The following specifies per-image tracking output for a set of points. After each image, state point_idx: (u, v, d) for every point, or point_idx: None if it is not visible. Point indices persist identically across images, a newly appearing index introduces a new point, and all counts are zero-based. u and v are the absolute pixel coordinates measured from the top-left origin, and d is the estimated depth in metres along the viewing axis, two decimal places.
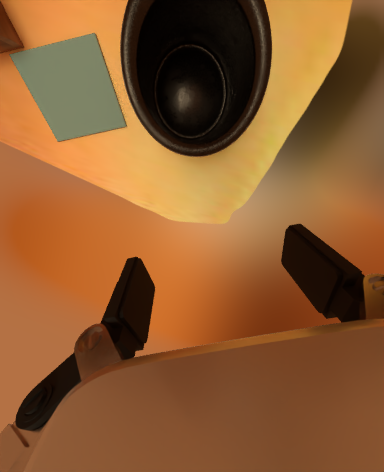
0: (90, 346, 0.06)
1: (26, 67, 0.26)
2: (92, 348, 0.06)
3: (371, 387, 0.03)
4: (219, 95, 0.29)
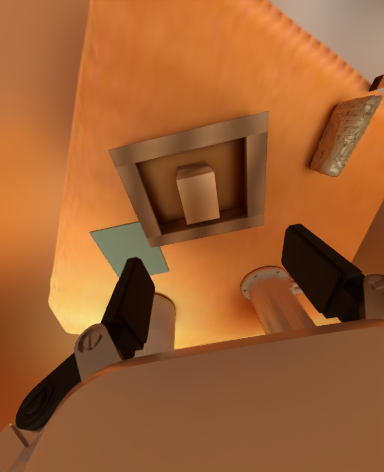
0: (90, 346, 0.06)
1: None
2: (92, 348, 0.06)
3: (371, 387, 0.03)
4: None
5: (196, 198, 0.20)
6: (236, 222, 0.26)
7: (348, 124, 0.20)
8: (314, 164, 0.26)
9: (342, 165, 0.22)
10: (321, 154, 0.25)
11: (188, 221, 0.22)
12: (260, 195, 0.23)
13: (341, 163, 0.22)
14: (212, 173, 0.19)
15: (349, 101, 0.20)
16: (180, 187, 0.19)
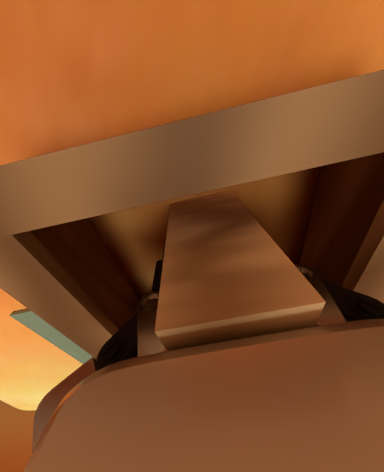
0: (148, 308, 0.07)
1: None
2: (150, 310, 0.07)
3: (371, 387, 0.03)
4: None
5: None
6: None
7: None
8: None
9: None
10: None
11: None
12: (383, 291, 0.09)
13: None
14: (316, 306, 0.04)
15: None
16: (172, 344, 0.05)
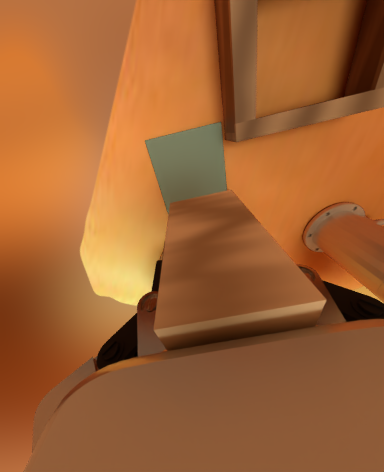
0: (149, 309, 0.07)
1: (211, 136, 0.25)
2: (150, 310, 0.07)
3: (371, 387, 0.03)
4: None
5: None
6: (357, 98, 0.19)
7: None
8: None
9: None
10: None
11: None
12: None
13: None
14: (316, 304, 0.04)
15: None
16: (171, 342, 0.05)
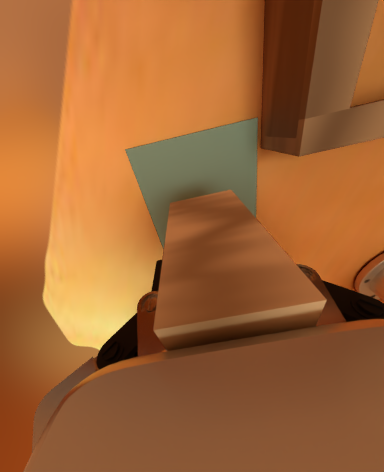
0: (148, 308, 0.07)
1: (238, 142, 0.15)
2: (150, 310, 0.07)
3: (371, 387, 0.03)
4: None
5: None
6: None
7: None
8: None
9: None
10: None
11: None
12: None
13: None
14: (317, 304, 0.04)
15: None
16: (171, 343, 0.05)
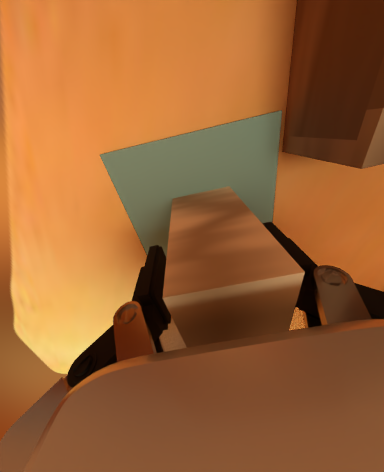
0: (126, 320, 0.07)
1: (254, 144, 0.11)
2: (127, 322, 0.07)
3: (371, 387, 0.03)
4: None
5: (226, 328, 0.07)
6: None
7: None
8: None
9: None
10: None
11: None
12: None
13: None
14: (297, 276, 0.05)
15: None
16: (177, 311, 0.06)
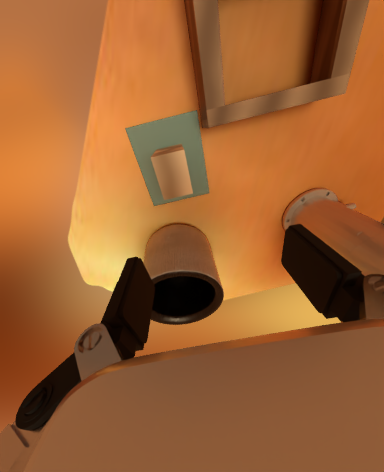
0: (90, 346, 0.06)
1: (188, 124, 0.27)
2: (92, 348, 0.06)
3: (371, 387, 0.03)
4: None
5: (169, 174, 0.22)
6: (316, 86, 0.21)
7: None
8: None
9: None
10: None
11: (164, 197, 0.24)
12: (354, 37, 0.19)
13: None
14: (182, 150, 0.21)
15: None
16: (154, 163, 0.22)
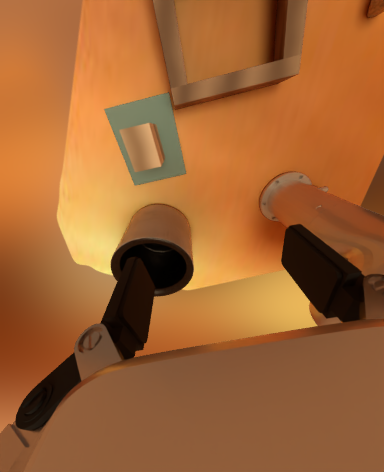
0: (90, 346, 0.06)
1: (161, 105, 0.29)
2: (92, 348, 0.06)
3: (371, 387, 0.03)
4: (163, 249, 0.45)
5: (138, 146, 0.25)
6: (270, 66, 0.23)
7: None
8: (374, 3, 0.24)
9: None
10: None
11: (135, 169, 0.27)
12: (300, 20, 0.21)
13: None
14: (147, 124, 0.23)
15: None
16: (123, 136, 0.24)
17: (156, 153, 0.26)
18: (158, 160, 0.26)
